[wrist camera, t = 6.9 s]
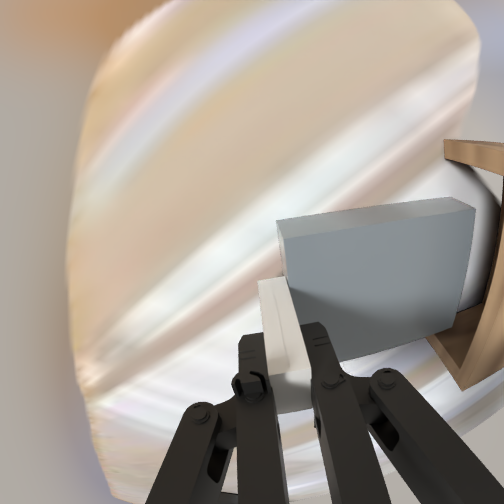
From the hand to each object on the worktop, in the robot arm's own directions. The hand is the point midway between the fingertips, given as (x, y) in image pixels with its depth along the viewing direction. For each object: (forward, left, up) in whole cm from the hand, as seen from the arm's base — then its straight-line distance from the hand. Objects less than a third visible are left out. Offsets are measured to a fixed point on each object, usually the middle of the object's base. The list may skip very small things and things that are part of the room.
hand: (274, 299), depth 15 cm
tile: (+7, -1, -2) cm, 7 cm away
